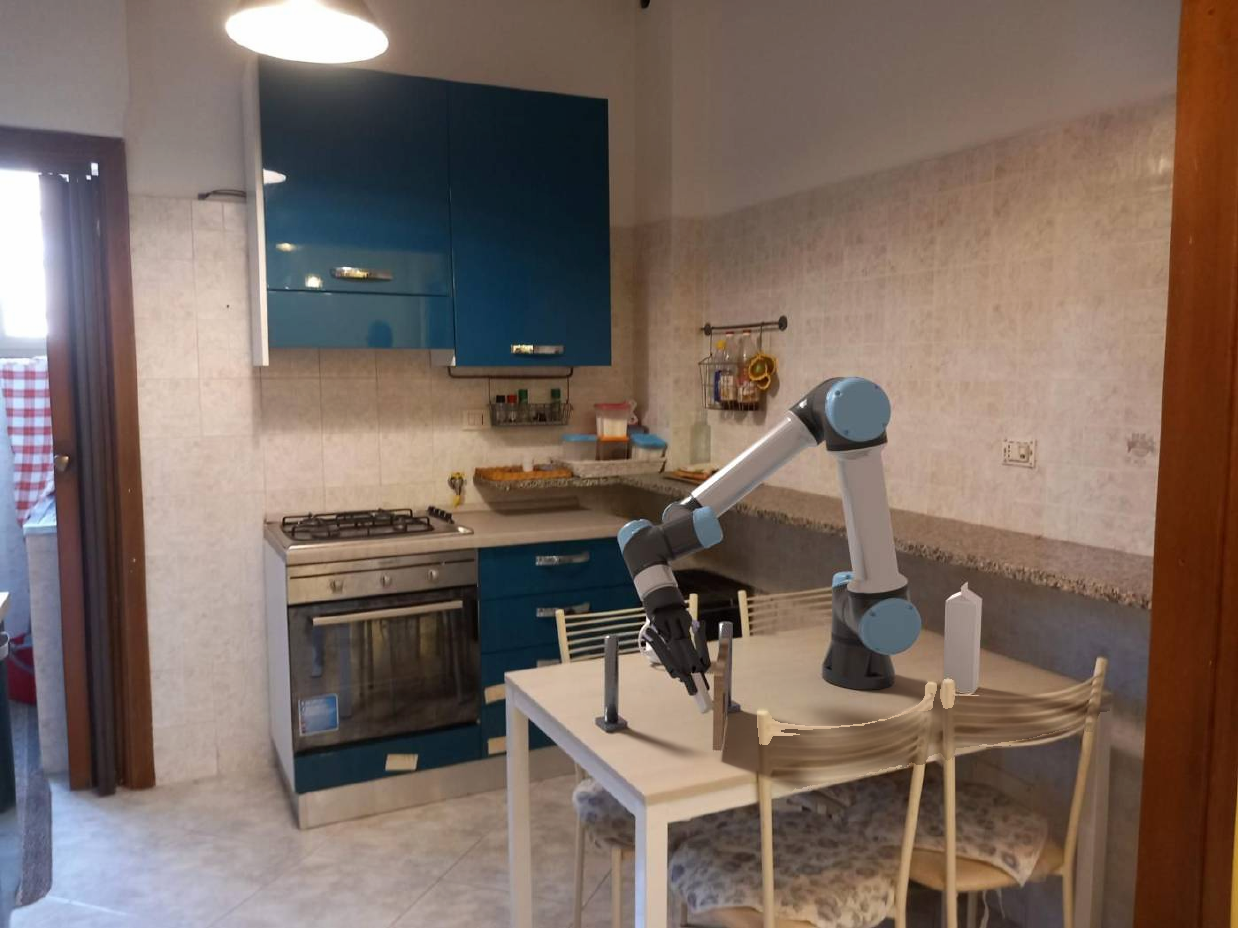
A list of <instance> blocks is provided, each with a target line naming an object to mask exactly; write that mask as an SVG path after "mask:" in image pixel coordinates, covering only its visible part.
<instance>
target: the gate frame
mask: <svg viewBox="0 0 1238 928" xmlns="http://www.w3.org/2000/svg"><path fill="white" fill-rule="evenodd" d="M733 624H734V623H733V622H731V621H719V623H718V648H719V647H720V642H721V638H728V639H729V679H728V709H727V714H730V713H731V714H732V713H736V712H737V713H738V712H740V711H741V709H742V708H741V707H742V706H741V704H740V703H738V702H736V701H734V700H732V694H733V693H732V688H733V687H732V685H733V683H732V681H733V680H732V679H733V678H732V677H733V634H734V633H733ZM619 638H620V637H619V634H616V633H608V634H604V661H603V662H604V664H603V665H604V666H603V667H604V669H603V670H604V672H603V673H604V675H603V676H604V677H603V678H604V684H603V685H604V687H603V688H604V695H603V697H604V699H603V700H604V706H603V707H604V708H603V709H604V711H603V712H604V714H603V715H602V716H597V717H595V722H594V723H595V725H596V726H597V727H598V728H600V729H601V730H603V731H604V732H605V733H608V732H614V731H619V730H624V729H628V728H629V727H628V720H626V719H624V717H622V716H620V715H619V693H620V692H619V690H620V689H619V679H620V678H619V677H620V675H619V672H620V671H619V670H620V669H619V664H620V663H619V661H620V660H619V659H620V658H619V654H620V653H619V651H620V649H619V648H620V647H619V643H620V641H619V640H620V639H619ZM713 702H714V699H712V703H713ZM711 710H713V708H712V709H711Z"/></svg>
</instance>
